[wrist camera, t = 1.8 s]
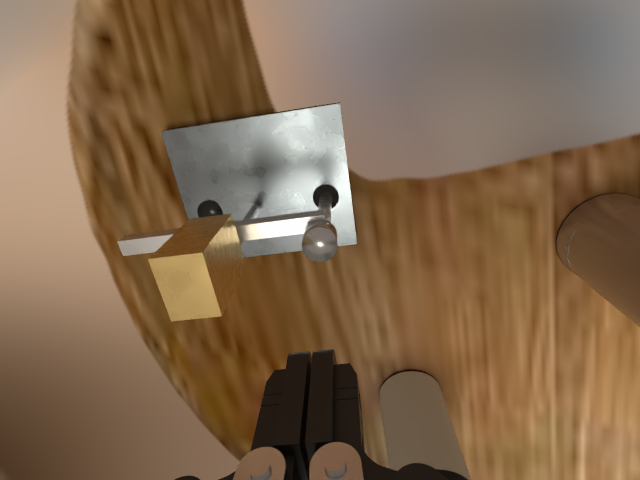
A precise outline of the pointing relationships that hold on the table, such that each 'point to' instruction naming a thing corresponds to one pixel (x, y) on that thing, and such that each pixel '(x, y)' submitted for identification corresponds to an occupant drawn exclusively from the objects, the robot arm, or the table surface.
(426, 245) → the table surface
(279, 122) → the bolt plate
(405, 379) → the travel mug
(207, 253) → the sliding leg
